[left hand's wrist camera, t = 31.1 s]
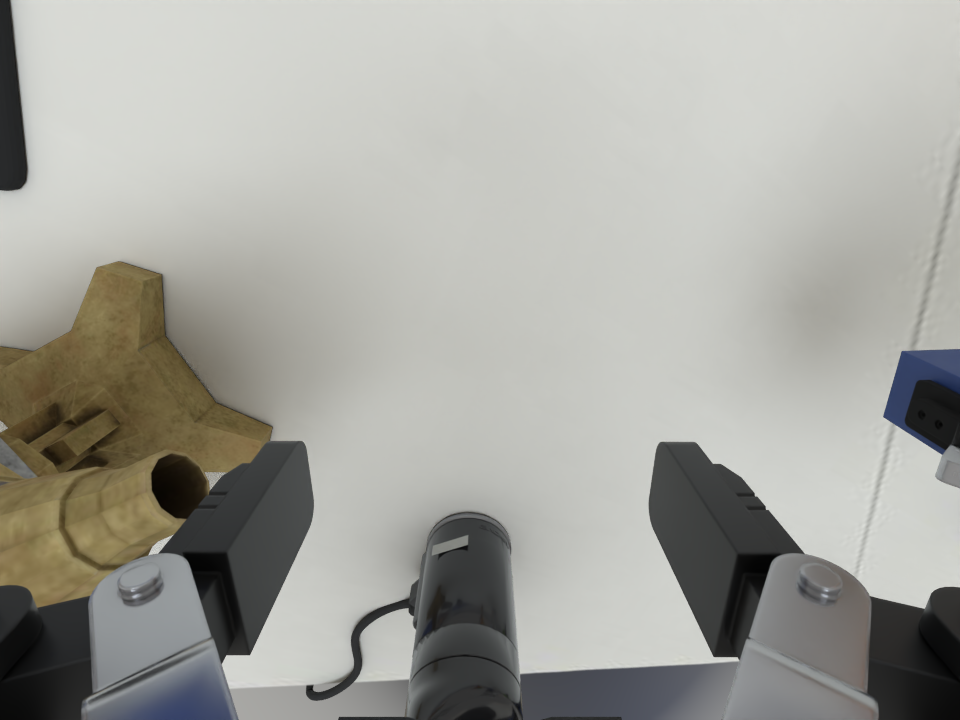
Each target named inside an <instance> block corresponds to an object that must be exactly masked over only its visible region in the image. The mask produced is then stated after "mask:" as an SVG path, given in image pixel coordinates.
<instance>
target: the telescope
mask: <svg viewBox="0 0 960 720" xmlns="http://www.w3.org/2000/svg"><path fill="white" fill-rule="evenodd" d="M0 421H2V422H3V423H4V424H5V425H6V426H7V427H8V429H6V430H4V431H3V432H1V433H0V586H4V585H18V586H23V587H25V588H27V589H28V590H29V591H30V592H31V594H32V596H33V599H34V601H35V604H36V606H37V608H38V607H43V606H47V605H52V604H56V603H60V602H65V601H69V600H73V599H78V598H82V597H86V596H90V595H91V593H92V592H93V590H94V589H95V587H96V586H97V585H98V584H99V583H100V582H101V581H102V580H103V579H104V578H105V577H106V576H108V575H109V574H110V573H112V572H113V571H114V570H116V569H118V568H119V567H121V566H123V565H125V564H127V563H129V562H131V561H133V560H136V559H139V558H142V557H145V556H148V554H149V552H150V550H151V548H152V546H153V545H155V544H156V543H157V542H158V541H160V540H162V539H164V538H167V537H169V536H171V535H173V534H175V533H176V532H177V530H178V529H179V528H180V527H181V525H182V524H183V523H184V522H185V521H186V519H187V518H188V517H189V516H190V515H191V513H192V512H193V511H194V510H195V509H198V505H199V504H200V502H201V501H202V500H203V499H204V498H205V496H208V495H209V491H210V488H209V481H208V479H207V477H206V475H205V473H204V472H229V471H231V470H233V469H234V468H236V467H237V466H239V465H240V464H242V463H251V461H252V460H253V459H254V458H255V456H256V455H257V454H258V452H259V451H260V450H261V448H262V447H263V446H264V444H265V443H266V442H268V441H270V436H271V432H272V427H271V426H268V425H266V424H264V423H261V422H259V421H257V420H254V419H252V418H250V417H248V416H245V415H243V414H241V413H238V412H236V411H234V410H231V409H229V408H227V407H224V406H222V405H220V404H217V403H216V402H215V401H214V400H213V398H212V397H211V396H210V394H209V393H208V392H207V390H206V389H205V388H204V386H203V385H202V384H201V382H200V381H199V380H198V379H197V377H196V376H195V375H194V373H193V372H192V371H191V369H190V368H189V367H188V365H187V364H186V363H185V361H184V360H183V359H182V357H181V356H180V355H179V353H178V352H177V351H176V349H175V348H174V347H173V346H172V344H171V343H170V342H169V340H168V339H167V338H166V336H165V328H164V310H163V293H162V276H161V274H158V273H154V272H151V271H148V270H145V269H142V268H138V267H135V266H132V265H129V264H126V263H122V262H119V261H118V262H115V263H111V264H107V265H104V266H100V267H97V268H96V270H95V273H94V275H93V278H92V280H91V283H90V285H89V288H88V290H87V293H86V295H85V297H84V300H83V302H82V305H81V307H80V310H79V312H78V315H77V317H76V320H75V322H74V325H73V327H72V330H71V331H70V332H68V333H66V334H65V335H63V336H61V337H59V338H57V339H55V340H54V341H52V342H50V343H48V344H46V345H45V346H43V347H41V348H39V349H37V350H36V351H34V352H33V351H26V350H19V349H13V348H6V347H0Z"/></svg>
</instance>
